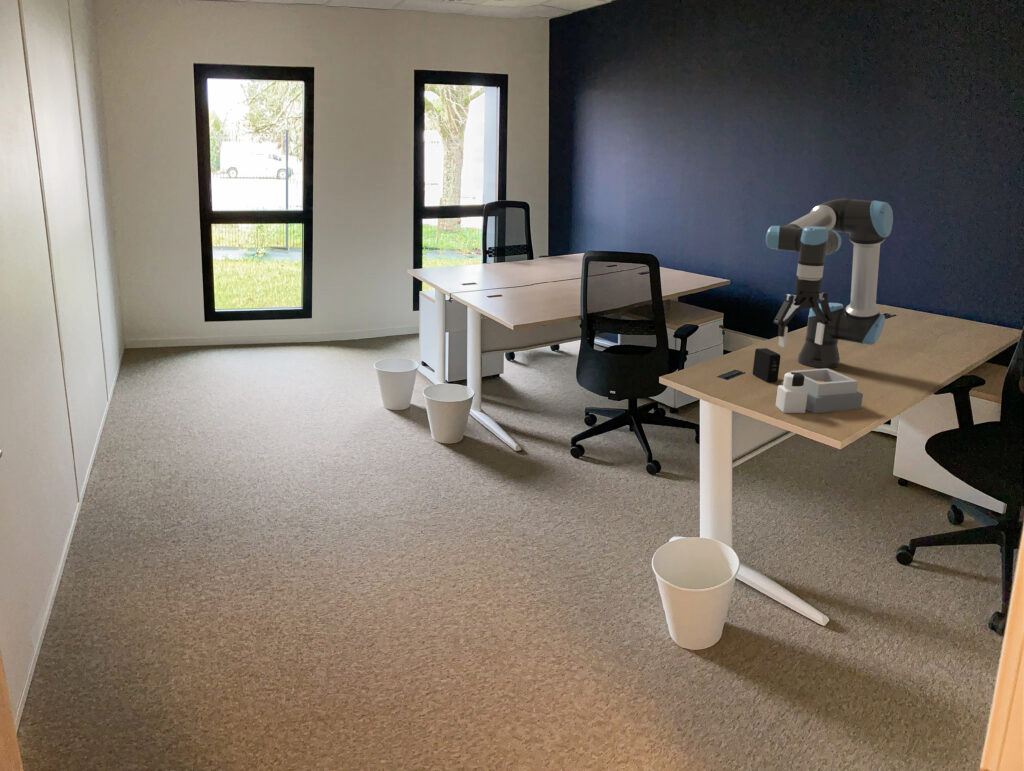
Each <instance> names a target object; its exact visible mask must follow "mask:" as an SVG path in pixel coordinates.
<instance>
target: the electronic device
mask: <svg viewBox="0 0 1024 771" xmlns="http://www.w3.org/2000/svg"><path fill="white" fill-rule="evenodd" d="M780 363H781V354H780V353H777V352H776V351H773V350H771V349H769V348H764V347H762V348H759V347H758V348H756V349H755V350H754V357H753V367H752V375H753V376H755V378H758V379H759V380H762V381H763V382H765V383H772V382H773V383H774V382H778V380H779V379H778V378H779V371H780V365H781V364H780Z"/></svg>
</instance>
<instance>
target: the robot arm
mask: <svg viewBox="0 0 1024 771" xmlns="http://www.w3.org/2000/svg"><path fill="white" fill-rule="evenodd" d="M893 214H894V213H893V208H892V207H891V205H890V204H889V203H888V202H886V201H880V200H875V199H874V200H868V199H851V198H837V199H832V200H829V201H825V202H823V203H821V204H819V205H816V206H814V207H812V209H811V210H810V212H809V213H807V214H805V215H803V216H801V217H799V218H797V219H795V220H794V221H792V222H790V223H788V224H786V225H784V226H782V225H771V226H770V227H769V228H768V229H767V232H766V234H765V244H766V247H767V248H768V249H771V250H775V251H783V252H784V251H786V252H792V253H793V252H794V253H799V254H798V259H797V260H798V261H797V268H796V276H797V277H796V278H795V283H794V284H795V285H794V290H795V293H794V294H790V293H786V294H785V298H784V301H783V302H782V304H781V307H780V309H778V312H777V314H776V315H775V318H774V320H773V324H776V325H778V330H777V336H778V342H777V343H778V345H777V346H779V347H781V348H786V347H787V346H786V345H787V338H788V331H789V330H788V329H789V328H788V326H787V325H788V324H789V323H790V322H791V321H792V319H793V318H794V317H795V315H796V314H797V313H798V311H801V310H802V309H809V313H808V315H807V317H808V318H807V326H806V332H805V339H804V340H805V341H804V343H803V346H802V348H801V350H800V352H799V353H798V357H797V362H798V363H800V364H802V365H804V366H808V367H813V368H818V369H825V368H828V369H832V368H833V369H835V368H837V367H839V366H840V362H841V358H840V353H839V348H838V344H839V340H840V341H845V342H851V343H857V344H861V345H870V346H873V345H875V344H876V343H877V342H878V340H879V339H880V337H881V335H882V332H883V329H884V327H885V322H886V316H885V315H884V314H883V313H881V312H880V311H881V308H880V306H879V305H878V304H877V290H878V279H879V278H878V277H879V266H880V265H879V264H880V252H881V251H880V250H881V245H882V243H883V242H885V240H886V238H887V237H889V236H890V235H891V232H892V229H893V225H894V215H893ZM839 233H842V234H843V233H845V234H849V241H850V243H852V244H853V252H852V270H851V287H850V301H849V302H850V303H849V304H848V305H846V307H845V308H844V304H842V303H839V302H829V299H828V298H829V297H828V293H826V292H823V291H821V288H822V278H823V275H824V269H825V268H824V266H825V259H826V256H830V255H832V254H834V253H836V252H838V250H839V249H840V248H841V245H842V237H841V235H840V234H839ZM818 300H819V303H818ZM880 313H881V314H880Z"/></svg>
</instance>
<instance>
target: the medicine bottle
mask: <svg viewBox="0 0 1024 771" xmlns="http://www.w3.org/2000/svg"><path fill="white" fill-rule="evenodd" d="M804 378H805V377H804V375H802V374H800V373H796V372H790V371H789V372H786V373H785V374H784V377H783V381H784V383H783V385H781V384H779V385H777V392H776V398H775V400H776V401H775V407H776V408H777V409H779V410H780V411H781V412H782V413H783V414H805V413H806V410H807V409H806V402H807V395H808V392H807V391H806V390H804V389H803V385H804Z"/></svg>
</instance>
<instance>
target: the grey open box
mask: <svg viewBox="0 0 1024 771" xmlns="http://www.w3.org/2000/svg"><path fill="white" fill-rule="evenodd" d="M789 372H796V373H800V374H802V375H804V377H805V378H804V385H803V389H804V390H806V391H807V392H808V395H807V402H806V409H805V410H807V411H809V412H811V413H813V414H819V413H828V412H830V413H831V412H832V413H833V412H840V411H849V410H850V411H851V410H852V411H853V410H861V409H862V403H863V399H864V398H863V397H864V393H862V392H859V391H857V389H858V384H859V380H856V379H854V378H851V377H849V376H847V375H845V374H842V373H840V372H837V371H835V370H833V369H831V368H814V369H812V368H811V369H799V370H789ZM817 381H825V382H821V383H820V382H817ZM783 383H784V380H783V381H781V384H780V385H783Z"/></svg>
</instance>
